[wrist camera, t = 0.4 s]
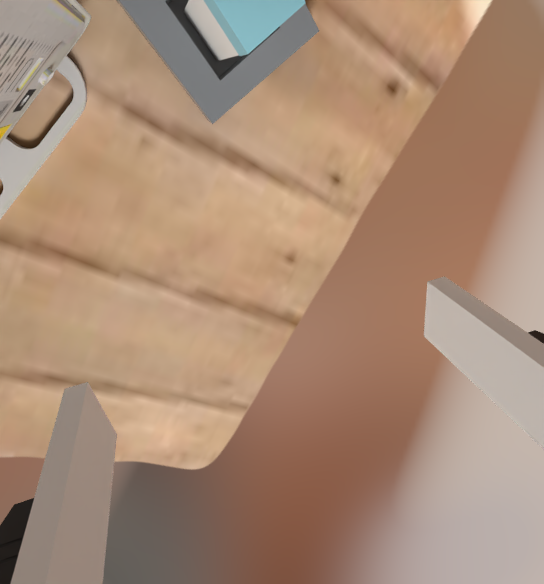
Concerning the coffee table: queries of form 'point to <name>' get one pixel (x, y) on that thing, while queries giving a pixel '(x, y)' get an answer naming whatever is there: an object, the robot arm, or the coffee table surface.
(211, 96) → the jack panel
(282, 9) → the plug
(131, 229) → the coffee table surface
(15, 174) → the network device
